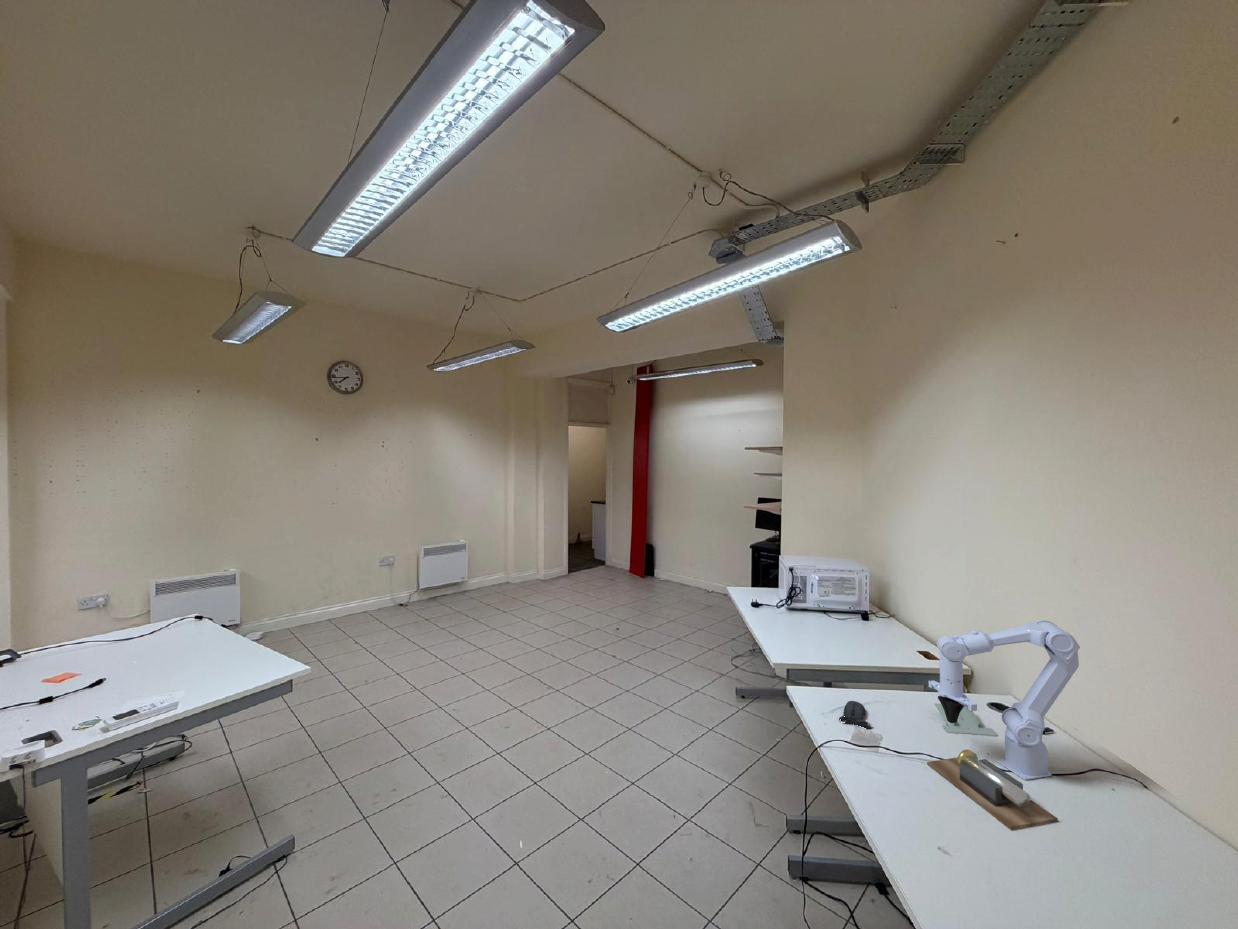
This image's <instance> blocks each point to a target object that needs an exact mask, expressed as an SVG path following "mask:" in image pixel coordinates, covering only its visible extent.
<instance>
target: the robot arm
mask: <svg viewBox="0 0 1238 929" xmlns="http://www.w3.org/2000/svg"><path fill="white" fill-rule="evenodd" d="M1021 643H1030V644H1033V645H1036V646H1037V647H1038V646H1039V647H1041V648H1044V649H1045V650H1046V653H1047V654H1048V656H1049V660H1048V661H1047V663H1046V664H1045V666H1043V669H1042V670H1041V672H1040V673H1039V675H1038V676H1037V677H1036V679H1035V680H1034V682H1033V683H1032V685H1031V687H1030V688H1029V689H1028V691H1027V693H1025V695H1024V697H1023V698H1022V700H1021V701H1019V702H1014V703H1013V704H1012V705H1011V706H1010V707H1009V708H1006V709H1004V710H1003V712H1002V713H1001V720H1002V722H1003V724H1004V725H1005V726H1006V728H1005V731H1004V748H1005V749H1004V752H1005V753H1004V755H1005V756H1004V758H1002V759H997V760H996V761H997V763H998V764H1000V765H1001V766H1003V767H1005V768H1006V769H1008V770H1009V771H1011V772H1012V773H1014V774H1015V775H1017V776H1018V777H1020V778H1021V779H1023V780H1025V781H1028V780H1033V779H1039V778H1040V779H1041V778H1044V777H1045V778H1046V777H1047V778H1048V777H1052V776H1053V774H1052V773H1051V772H1049V750H1048V749H1047V746H1046V744H1045V743H1044V741H1043V732H1044V730H1045V729H1046V728H1045V727H1046V725H1045V716H1046V715H1047V713H1048V712H1049V710H1050V709H1051V708H1052V706H1053V705H1054V703H1055V701H1057V699H1058V697H1059V696H1060V694H1061V693H1062V691H1064V688H1066V686H1067V684H1068V683H1069V682H1070V680H1071V678H1072V677H1073V675H1074V674H1075V673H1076V671H1077V670H1078V669H1079V660H1080V659H1079V649H1080V647H1081V646H1080V645H1079V643H1078V642H1077V640H1076V638H1075V637H1074V636H1073V635H1072V634H1070V633H1069V632H1067V631H1065V630H1064V629H1062V628H1060V627H1059V626H1058V625H1057V624H1055V623H1054V622H1052V621H1049V620H1038V621H1029V622H1027V623H1025V624H1023V625H1020V626H1017V627H1012V628H1008V629H1004V630H1001V631H996V632H992V633H989V634H988V633H985V632H983V631H977V630H971V631H970V633H966V634H961V635H958V634H955V635H953V636H950V635H945V636H941V637H940V638H939V639H938V640H937V642H936V647H937V648H938V650H939V682H938V681H935V680H934V679H933V680H928V688H930V689H933V690H936V691H937V694H938V696H937V699H938V701H939V702H940V704H942V706H943V709H944V711H945V714H946V718H947V721H948V722H950V723H957V720H958V717H959V714H960V712H961V710H962V709H963V708H964V706H965V707H967V708H968V710H970V711H973V712H976V711H978V704H977V703H976V702H974V701H973V700H971V698H969V697H968V696H967V695H966V694H965V693H964V669H963V668H964V666H963V660H964V659H965V658H966V657H970V656H974V655H981V654H984V653H990V652H992V651H993V650H994V648H995V647H998V646H1000V647H1001V646H1005V645H1006V646H1007V645H1012V644H1021Z"/></svg>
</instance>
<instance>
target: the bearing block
mask: <svg viewBox="0 0 1238 929" xmlns="http://www.w3.org/2000/svg"><path fill="white" fill-rule="evenodd" d="M978 760H979V761H981V762H982V763H984V764H985V765H987V766H988V767H990V768H991V769H993V770H994V771H995V772H997V773H998V774H1000V775H1001V776H1003V777H1004V778H1006V779H1007V780H1009V781H1010V782H1012V783H1013V784H1015V785H1016V786H1018V787H1019V788H1021V789H1022V790H1023V791H1024V784H1023V783H1022V782H1020V781H1019V780H1018V779H1016V778H1015V777H1013V776H1012V775H1010V774H1008V773H1007V772H1006V771H1004V770H1003V769H1001V768H999V766H997V765H995V764H994V763H993V762H991V761H989V760H987V759H986V758H984V759H983V758H982V759H978ZM959 766H960V780H961V781H962V782H964V783H965V784H966V785H968V786H969V787H970V788H972V789H973V790H974V791H976V792H977V793H978V794H980V795H981V796H982V797H983V798H985V799H986V800H987V801H989V802H990V803H991V804H993V805H994V806H995V807H996V806H1002V805H1008V804H1013V802H1012V801H1011V800H1009V799H1008V798H1006V797H1005V796H1004V795H1002V787H1000V786H999V785H997V784H996V783H995V782H993V781H992V780H990V779H989V778H988V777H986V776H985V775H983V774H982V773H980V772H979V771H978V770H976V769H975V768H973V767H972V766H971V765H969V764H968V763H966V762H962V763H959Z"/></svg>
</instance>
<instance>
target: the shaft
mask: <svg viewBox="0 0 1238 929" xmlns="http://www.w3.org/2000/svg"><path fill="white" fill-rule="evenodd" d="M957 757H958V758H957ZM957 757H956V758H957V764H958V766H959V763H962V762H966V763H968V764H969V765H971V766H972V767H973V768H975V769H976V770H978V771H979V772H980V773H982V774H983V775H985V776H986V777H988V778H989V779H990V780H992V781H993V782H995V783H996V784H997V785H999V786H1000V787H1002V795H1004V796H1005V797H1006V798H1008V799H1009V800H1011V801H1012V802H1013V803H1015V804H1016V805H1017V806H1019V807H1020V808H1026V807H1027V806H1028V805H1029V804H1030V800H1031V795H1030V794H1029V793H1028V792H1026V791H1025V790H1024V789H1023V790H1022V789H1021V788H1019V787H1018V786H1016V785H1015V784H1013V783H1012V782H1010V781H1009V780H1007V779H1006V778H1004V777H1003V776H1001V775H1000V774H998V773H997V772H995V771H994V770H993V769H991V768H990V767H988V766H987V765H985V764H984V763H982V762H981V761H979V760H980V759H979V757H978V754H976V753H975V752H973V751H972V750H971V749H963V750H962V751H961V752H960V753H959V754H958V756H957ZM959 768H960V766H959Z"/></svg>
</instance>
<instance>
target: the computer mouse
mask: <svg viewBox="0 0 1238 929" xmlns="http://www.w3.org/2000/svg"><path fill="white" fill-rule="evenodd" d="M865 712H866V708H865V706H864V705H863V704H862V703H861V702H859V701H855V700H848V701H847V702H846V703H845V705H844V707H843V715H842V716H840V717H839V718H838V721H839V720H840V719H842V721H845V723H850V724H849V725H853V724H854V725H853V726H855V725H858V726H861V727H864V728H866V729H865V730H871V729H872V726H873V724H872V723H871V722H868V721H866V720H864V717H865V715H866V713H865ZM844 716H845V717H844ZM863 716H864V717H863ZM858 726H857V727H858Z"/></svg>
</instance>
